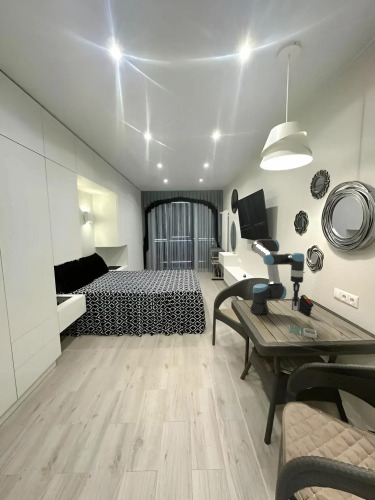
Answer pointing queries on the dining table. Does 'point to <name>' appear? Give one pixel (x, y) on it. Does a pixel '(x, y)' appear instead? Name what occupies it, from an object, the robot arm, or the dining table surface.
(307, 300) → the black ridged module
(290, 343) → the dining table surface
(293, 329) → the board
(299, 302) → the plug
